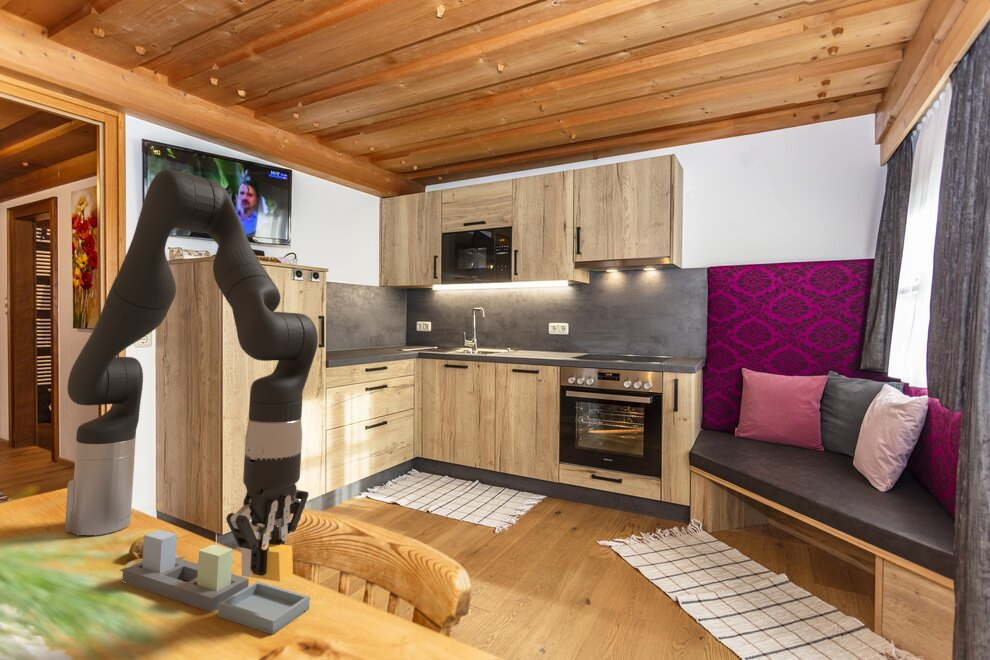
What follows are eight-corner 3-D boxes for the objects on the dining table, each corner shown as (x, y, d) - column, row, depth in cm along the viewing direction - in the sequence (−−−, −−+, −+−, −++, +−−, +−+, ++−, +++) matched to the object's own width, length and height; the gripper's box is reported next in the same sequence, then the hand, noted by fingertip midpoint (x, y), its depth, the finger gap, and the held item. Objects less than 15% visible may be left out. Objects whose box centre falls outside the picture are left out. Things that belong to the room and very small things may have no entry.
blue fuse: (141, 579, 80) (144, 535, 80) (156, 572, 82) (159, 529, 82) (159, 584, 78) (161, 539, 79) (174, 577, 81) (176, 534, 81)
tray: (217, 616, 71) (218, 603, 71) (256, 593, 78) (257, 581, 78) (272, 634, 68) (273, 621, 68) (309, 608, 74) (309, 596, 74)
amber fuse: (241, 547, 73) (279, 552, 70) (255, 541, 75) (292, 545, 73) (241, 575, 73) (279, 581, 70) (255, 568, 75) (292, 573, 73)
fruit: (129, 576, 81) (131, 553, 81) (113, 559, 86) (115, 538, 86) (186, 560, 88) (187, 539, 88) (168, 545, 93) (169, 525, 93)
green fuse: (196, 597, 76) (198, 550, 76) (210, 589, 78) (213, 544, 78) (215, 603, 74) (218, 556, 74) (230, 595, 77) (232, 549, 77)
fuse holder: (122, 582, 79) (122, 569, 79) (161, 565, 85) (162, 553, 85) (211, 612, 72) (212, 598, 72) (248, 591, 78) (248, 578, 78)
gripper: (288, 438, 81) (282, 546, 80) (212, 456, 68) (205, 585, 67) (326, 444, 78) (320, 556, 78) (255, 464, 65) (247, 598, 65)
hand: (266, 569), depth 73 cm, fingers closed on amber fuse, 2 cm apart
